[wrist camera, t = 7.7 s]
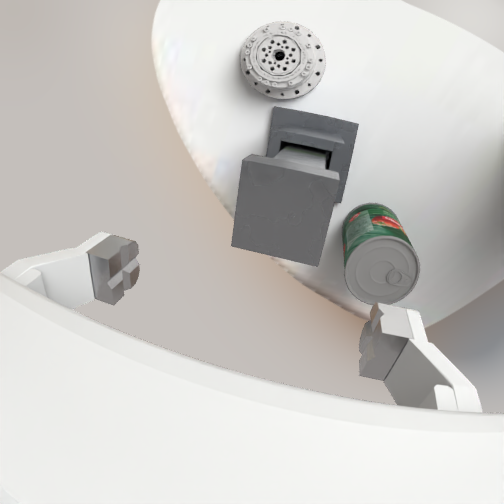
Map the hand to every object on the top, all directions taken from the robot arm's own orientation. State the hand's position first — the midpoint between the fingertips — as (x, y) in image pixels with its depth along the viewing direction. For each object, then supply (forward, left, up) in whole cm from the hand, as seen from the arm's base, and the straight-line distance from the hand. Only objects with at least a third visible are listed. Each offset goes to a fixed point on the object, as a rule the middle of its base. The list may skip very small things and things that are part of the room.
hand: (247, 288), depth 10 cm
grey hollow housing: (0, 0, -30) cm, 30 cm away
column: (0, 0, -24) cm, 24 cm away
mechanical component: (+5, -11, -31) cm, 33 cm away
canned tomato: (-10, +8, -31) cm, 33 cm away
